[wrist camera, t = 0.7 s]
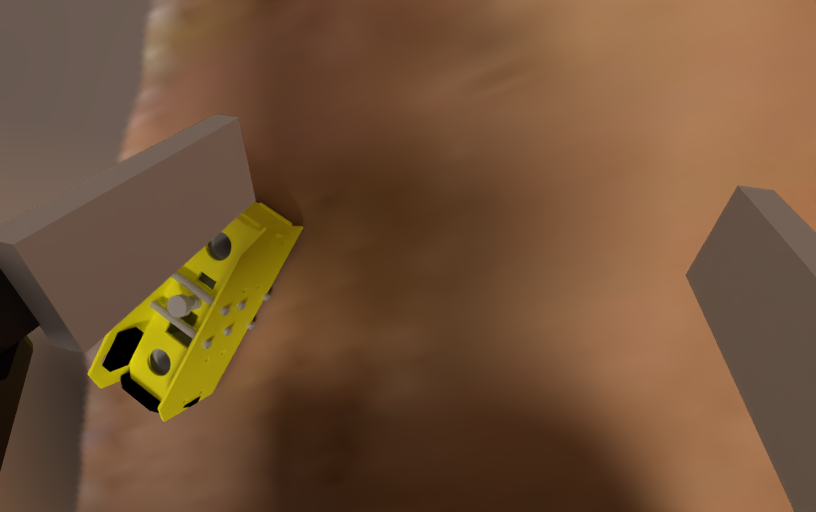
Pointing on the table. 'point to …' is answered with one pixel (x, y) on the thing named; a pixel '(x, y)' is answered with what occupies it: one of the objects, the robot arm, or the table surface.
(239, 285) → the yellow toy chassis
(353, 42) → the table surface
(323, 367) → the table surface
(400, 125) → the table surface
